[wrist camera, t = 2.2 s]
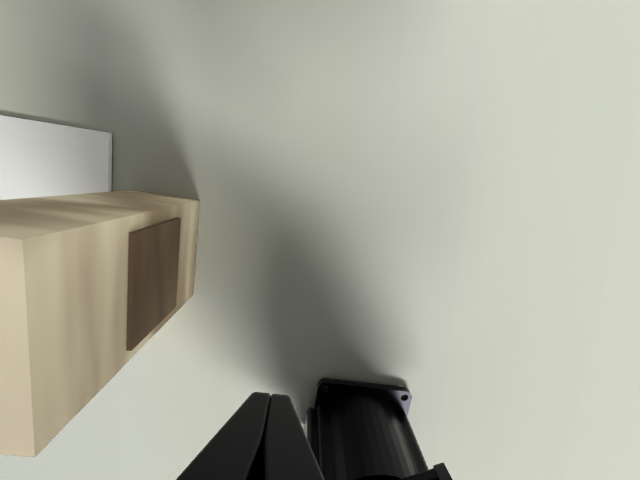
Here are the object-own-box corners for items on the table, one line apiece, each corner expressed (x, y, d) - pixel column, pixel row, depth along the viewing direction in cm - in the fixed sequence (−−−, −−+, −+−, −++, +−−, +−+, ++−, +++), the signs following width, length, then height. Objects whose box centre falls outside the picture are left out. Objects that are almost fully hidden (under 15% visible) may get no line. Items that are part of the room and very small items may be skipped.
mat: (112, 133, 16) (108, 132, 16) (110, 328, 19) (107, 330, 18) (-124, 95, 16) (-132, 93, 15) (-93, 304, 18) (-100, 306, 18)
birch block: (203, 200, 17) (32, 240, 7) (196, 295, 19) (43, 457, 8) (129, 189, 17) (-174, 213, 6) (127, 286, 18) (-129, 443, 8)
